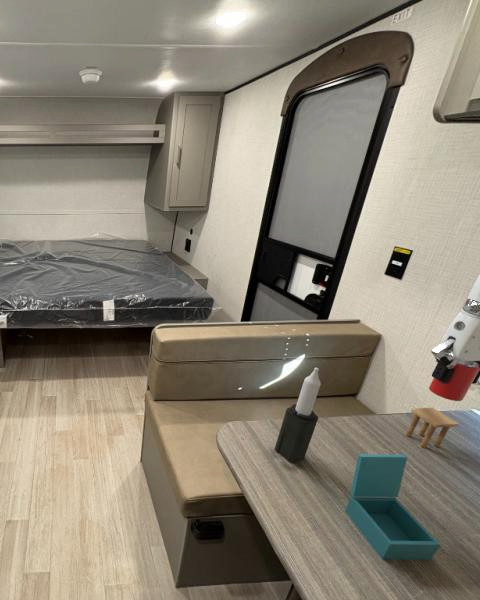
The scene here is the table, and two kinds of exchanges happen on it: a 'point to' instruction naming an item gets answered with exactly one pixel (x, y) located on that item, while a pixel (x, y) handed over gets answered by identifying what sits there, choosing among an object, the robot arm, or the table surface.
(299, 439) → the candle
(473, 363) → the can
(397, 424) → the table surface
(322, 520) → the table surface
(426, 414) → the stool
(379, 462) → the lid
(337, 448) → the table surface
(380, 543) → the teal hinged box
